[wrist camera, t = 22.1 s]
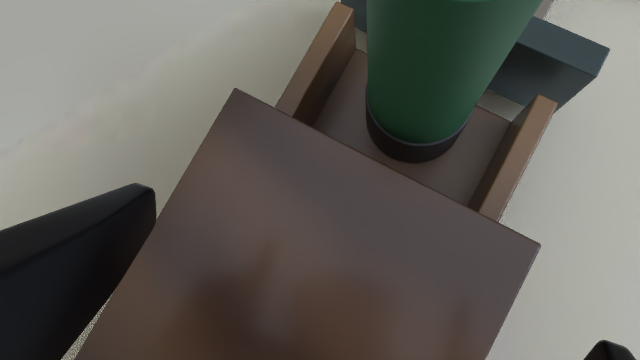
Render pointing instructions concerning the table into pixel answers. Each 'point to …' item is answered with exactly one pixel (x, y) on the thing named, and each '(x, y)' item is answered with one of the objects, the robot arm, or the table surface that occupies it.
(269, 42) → the table surface
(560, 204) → the table surface
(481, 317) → the cabinet
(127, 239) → the robot arm
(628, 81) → the table surface
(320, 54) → the drawer
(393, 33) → the green cylinder
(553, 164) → the table surface
